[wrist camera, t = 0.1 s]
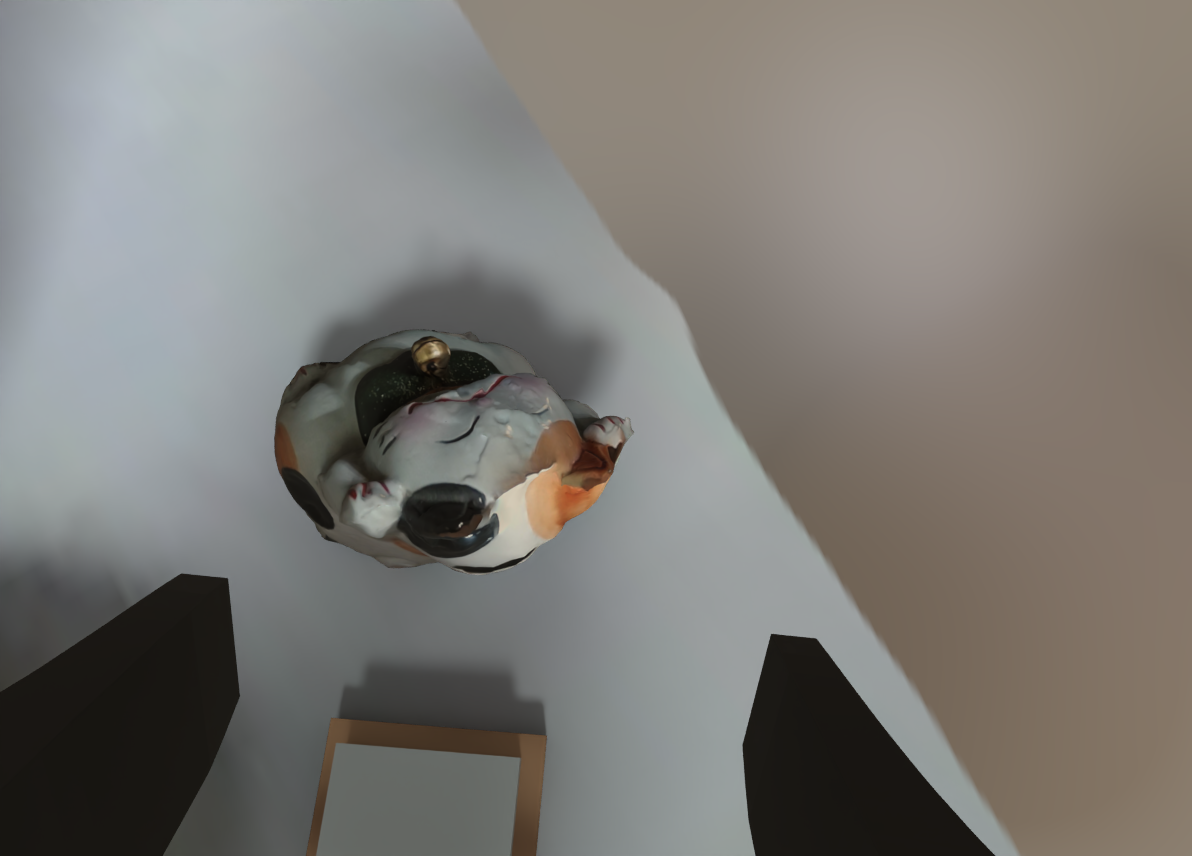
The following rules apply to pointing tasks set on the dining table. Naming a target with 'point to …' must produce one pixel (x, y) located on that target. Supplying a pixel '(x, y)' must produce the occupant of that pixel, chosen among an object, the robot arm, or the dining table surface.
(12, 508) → the dining table surface
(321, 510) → the lucky cat figurine
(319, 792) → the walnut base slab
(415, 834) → the slate top slab
